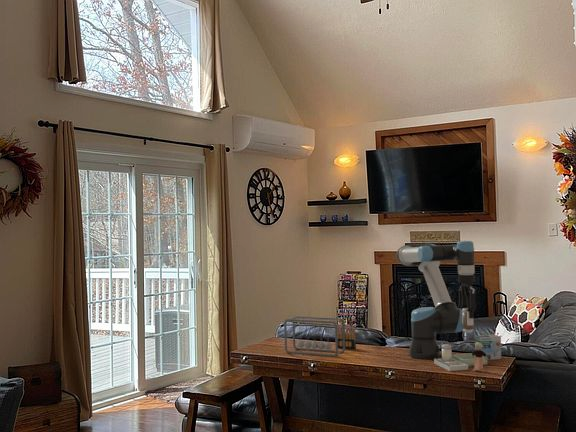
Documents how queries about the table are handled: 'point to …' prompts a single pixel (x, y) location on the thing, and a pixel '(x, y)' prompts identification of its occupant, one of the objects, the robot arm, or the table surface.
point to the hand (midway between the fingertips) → (467, 324)
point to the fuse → (446, 353)
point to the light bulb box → (490, 345)
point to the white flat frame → (451, 365)
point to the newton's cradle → (313, 344)
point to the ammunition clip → (346, 338)
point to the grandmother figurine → (478, 357)
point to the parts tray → (467, 359)
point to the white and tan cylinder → (465, 327)
